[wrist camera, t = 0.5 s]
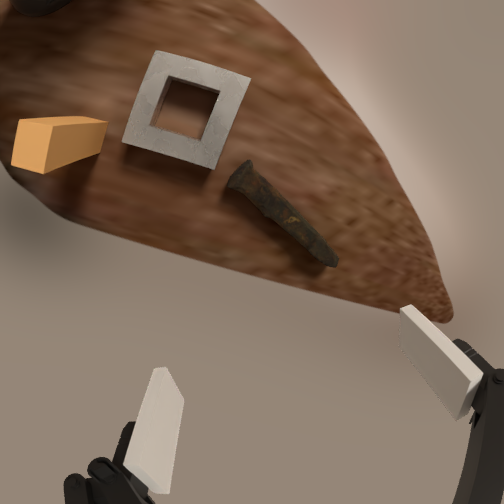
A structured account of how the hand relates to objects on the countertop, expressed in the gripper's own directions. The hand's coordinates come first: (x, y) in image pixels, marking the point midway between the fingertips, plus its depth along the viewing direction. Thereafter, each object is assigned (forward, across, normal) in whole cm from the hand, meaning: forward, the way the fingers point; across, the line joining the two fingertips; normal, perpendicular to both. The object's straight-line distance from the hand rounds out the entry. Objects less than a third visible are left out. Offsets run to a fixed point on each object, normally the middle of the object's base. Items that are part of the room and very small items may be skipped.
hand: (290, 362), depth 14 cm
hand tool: (+26, +5, +3) cm, 26 cm away
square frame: (+22, -4, +19) cm, 29 cm away
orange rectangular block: (+21, -17, +20) cm, 33 cm away
